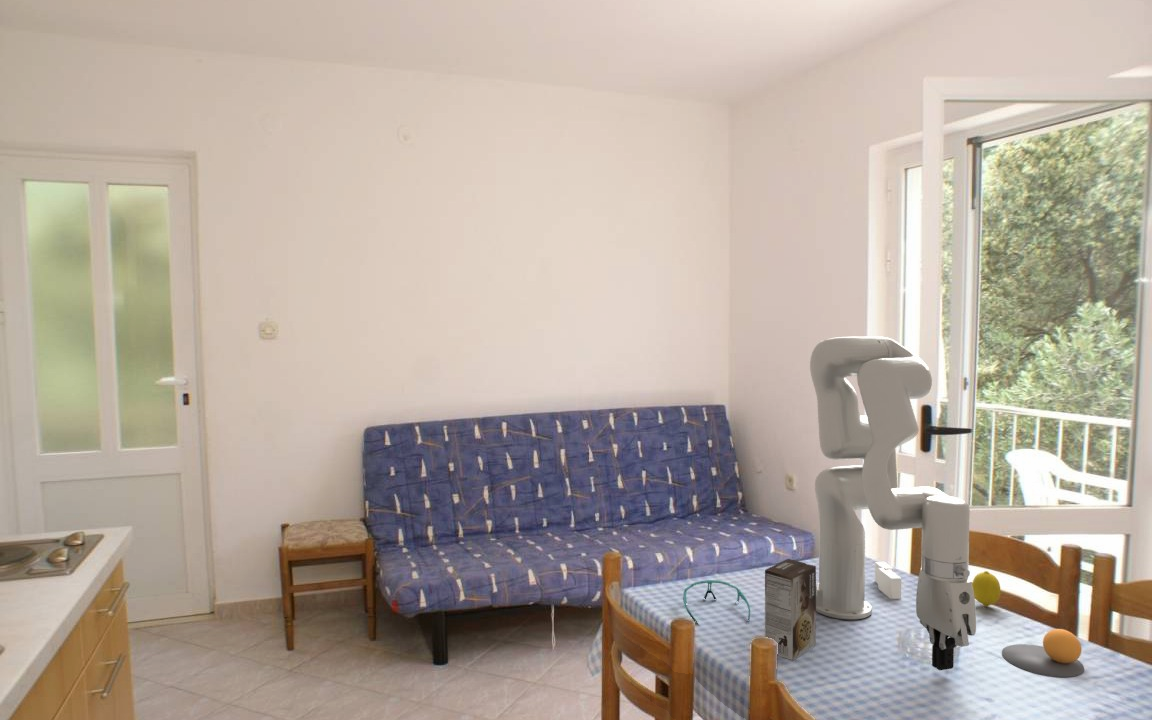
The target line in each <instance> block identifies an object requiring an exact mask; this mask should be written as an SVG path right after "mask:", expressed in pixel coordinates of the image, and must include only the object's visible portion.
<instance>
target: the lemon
mask: <svg viewBox="0 0 1152 720" xmlns="http://www.w3.org/2000/svg"><path fill="white" fill-rule="evenodd" d="M972 586H973V591H974V598H975V600H976V601H977V602H978V603H980V604H981V605H983V606H984V607H986V608H989V606H991V605H995V604H996V603H997V602H998V601H999V599H1000V597H1001V585H1000V582H999V579H998V578H997V577H996V576H995V575H994V574H992V573H990V572H989V571H988V570H985V571H983V572H980V573H977V575H975V576H974V578H973V580H972Z"/></svg>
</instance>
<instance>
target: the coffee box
mask: <svg viewBox="0 0 1152 720" xmlns="http://www.w3.org/2000/svg"><path fill="white" fill-rule="evenodd" d="M816 578H817V565H813V564H812V565H811V564H808V563H805V562H802V561H799V560H796V559H795V560H794V559H790V558H788V559H785V560H783V561H781V562H778V563H776V564H775V565H773V566H770V567H768V568H766V569H765V570H764V638H765V637H768V638H772V639H774V640H775V641H776V642H777V643H778V655H777V656H779V657H781V658H785V659H787V660H789V659H790V661H795V660H796V659H798V658H799V657H801V656H802V655H803V654H806V653H807V652H808V651H810V650H811V649H813V648H814V647H815V645H817V611H816V586H817V579H816ZM812 647H813V648H812ZM809 649H810V650H809Z"/></svg>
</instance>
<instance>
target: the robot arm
mask: <svg viewBox="0 0 1152 720" xmlns="http://www.w3.org/2000/svg"><path fill="white" fill-rule="evenodd" d="M809 370H810V376H811V380H812V383H813V387H814V390H815V394H816V400H817V402H816V403H817V419H818V435H819V436H818V437H819V445H820V450H821V453H822V455H823V456H825V458H827V459H829V460H833V461H834V460H835V461H849V460H850V461H851V460H853V461H855V460H863V465H861V464H860V465H842V466H832V467H828V468H825V469H824V470H822V471H820V472H819V473H818V474H817V476H816V478H815V480H814V492H815V497H816V503H817V510H818V520H819V521H818V525H819V526H818V529H819V530H818V537H819V539H818V541H819V542H818V582H817V583H816V613H819V614H820V615H823V616H825V617H830V618H833V619H839V620H862V619H865V618H868V617H869V616H871V615H872V612H873V607H872V605H871V603H869V602H868V601H866V599H865V595H866V594H865V589H866V588H865V587H866V585H865V584H866V582H865V580H866V579H865V578H866V531H865V527H864V525H863V523H862V521H861V520H860V519H859V518H858V516H857V514H856V511H861V510H869V512H870V515H871V517H872V519H873V520H874V522H875V523H876V524H877V525H878V527H880V528H882V529H884V530H890V531H892V530H894V531H897V530H898V531H899V530H908V529H921V556H920V557H921V566H920V570H919V573H918V577H917V578H918V579H917V584H916V585H917V586H916V597H915V599H916V600H915V612H916V617H917V618H918V620H919V623H920V624H921V626H923V628H925V629H926V631H927V633H928V636H929V641H930V642H929V643H930V644H932V648H931V650H932V651H931V652H932V653H931V666H932V667H934V668H935V669H937V670H938V671H945V670H951V669H953V668H954V662H955V661H954V656H955V655H954V653H955V652H954V651H955V649H956V648H957V647H968V646H969V645H970V642H969V636H972V637H973V636H975V635H976V632H977V616H976V615H977V613H976V612H977V610H976V601H975V600H976V599H975V597H974V591H973V586H972V583H973V581H972V580H971V579H969V576H970V574H971V572H970V570H969V565H970V564H969V562H970V561H969V558H970V557H969V556H970V555H969V554H970V548H969V547H970V514H971V513H970V511H971V510H970V506H969V504H968V503H967V502H966V501H965V500H964V499H962V498H959V497H955V496H951V495H948V494H947V493H945V492H943V491H942V490H940V489H939V488H936V487H933V486H913V487H912V486H909V487H898V473H897V471H898V470H897V456H896V455H897V453H896V448H898V447H900V446H902V445H904V444H905V443H908V442H909V441H911V440H913V439H914V438H916V437H917V436H918V433H919V425H918V422H917V419H916V416H915V413H914V409H913V406H912V402H911V400H918V399H923V398H925V397H926V396H927V395H928V394H929V393H930V391H931V389H932V386H933V385H932V384H933V378H932V375H931V371H930V369H929V366H928V365H927V364H926V363H925V362H924V360H923V359H921V358H920V357H919V356H918V355H916V353H914V352H912V351H911V350H910V349H908V348H906V347H905V346H903V345H902V344H900V343H899V342H897V341H896V340H894V339H892V338H889V337H886V336H885V337H884V336H841V337H840V336H839V337H832V338H827V339H824V340H821V341H820V342H818V343H817V344H816V345H815V347H814V348H813V350H812V352H811V356H810V361H809ZM846 377H856V380H857V385H858V389H859V392H860V396H861V400H862V403H863V407H864V410H865V414H866V415H860V412H859V398H858V393H857V392H856V390H855V388H854V387H853V385H852V384H851V383H850V381H849V380H848V379H847V378H846Z"/></svg>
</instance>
